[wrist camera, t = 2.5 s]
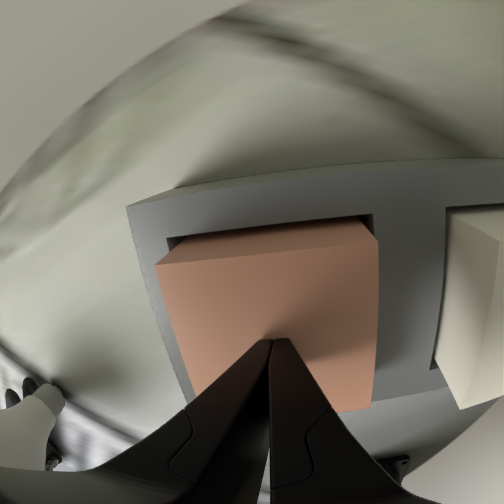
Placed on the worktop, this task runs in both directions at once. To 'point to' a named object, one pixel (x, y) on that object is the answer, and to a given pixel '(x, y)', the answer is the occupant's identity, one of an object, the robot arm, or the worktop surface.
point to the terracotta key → (279, 300)
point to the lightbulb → (29, 428)
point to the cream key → (472, 304)
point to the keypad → (328, 206)
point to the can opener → (51, 452)
